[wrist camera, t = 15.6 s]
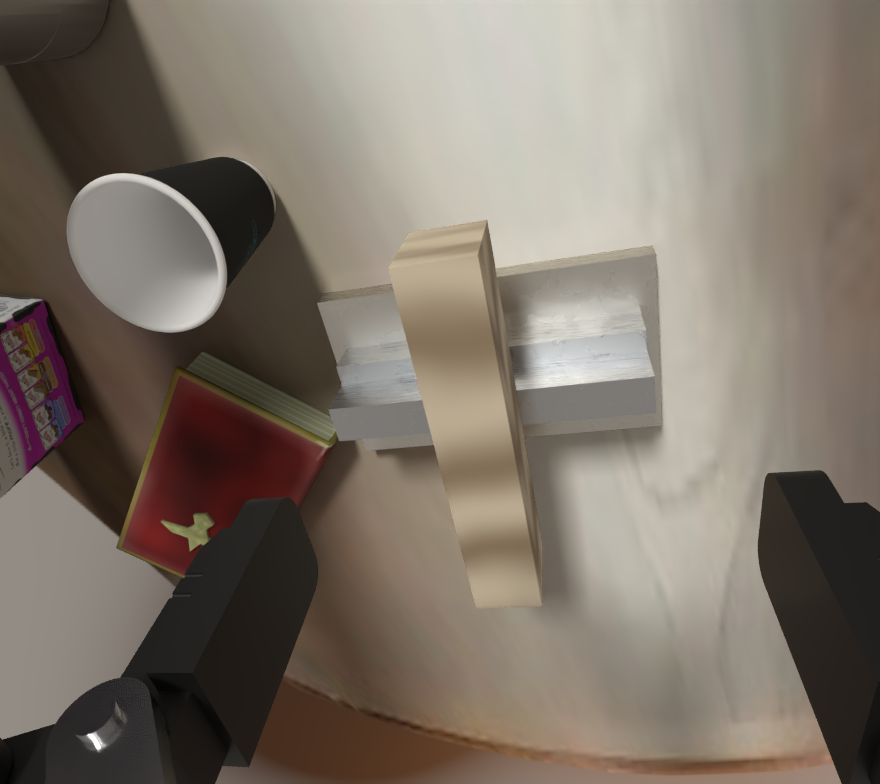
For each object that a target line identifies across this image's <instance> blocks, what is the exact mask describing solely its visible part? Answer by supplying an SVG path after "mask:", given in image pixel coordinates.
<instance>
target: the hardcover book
mask: <svg viewBox="0 0 880 784" xmlns="http://www.w3.org/2000/svg"><path fill="white" fill-rule="evenodd" d="M337 439H338V436H337V433H336V430H335V427H334V425H333V422H332V419H331V416H329V415H327V414H325V413H323V412H322V411H320V410H318V409H316V408H314V407H312V406H310V405H308V404H306V403H304V402H302V401H300V400H298V399H296V398H294V397H292V396H290V395H288V394H286V393H284V392H282V391H280V390H278V389H276V388H274V387H273V386H271V385H269V384H267V383H265V382H263V381H261V380H259V379H257V378H255V377H253V376H251V375H249V374H247V373H245V372H243V371H241V370H239V369H237V368H235V367H233V366H231V365H229V364H227V363H225V362H224V361H222V360H220V359H218V358H216V357H214V356H212V355H210V354H208V353H206V352H204V351H203V352H202V353H201V354H200V355H199V356H198V357H197V358H196V359H195V360H194V361H193V362H192V363H191V364H190V365H189V366H188V367H187V368H186V369H184V368H182V367H180V366H177V367H176V368H175V371H174V374H173V378H172V381H171V384H170V387H169V390H168V393H167V396H166V399H165V402H164V405H163V408H162V411H161V414H160V417H159V420H158V423H157V426H156V429H155V432H154V435H153V438H152V441H151V444H150V447H149V450H148V453H147V456H146V459H145V462H144V465H143V468H142V471H141V474H140V477H139V480H138V483H137V487H136V490H135V493H134V496H133V499H132V502H131V505H130V508H129V511H128V514H127V517H126V520H125V523H124V526H123V529H122V532H121V535H120V538H119V541H118V544H117V547H116V548H117V549H119V550H121V551H124V552H126V553H129V554H130V555H133V556H135V557H137V558H139V559H141V560H144V561H146V562H148V563H150V564H153V565H155V566H157V567H159V568H161V569H164V570H166V571H168V572H170V573H173V574H175V575H177V576H179V577H181V578H184V577H185V572H186V570H187V569H188V567H189V565H190V564H191V562H192V561H193V559H194V557H195V556H196V554H197V552H198V551H199V549H200V548H201V547H203V546H204V545H205V544H206V543H207V542H208V541H209V540H210V539H211V538H212V537H213V536H214V535H216V534H217V533H218V532H219V531H220V530H221V529H222V528H230V527H231V525H232V524H233V522H234V520H235V518H236V517H237V515H238V513H239V512H240V510H241V508H242V506H243V505H244V503H245V502H246V501H248V500H249V499H260V498H279V497H290V498H291V499H292V500H293V501H294V502H295V504H296V506H297V508H298V509H299V507H300V505H301V503H302V502H303V500H304V498H305V496H306V495H307V493H308V491H309V489H310V487H311V486H312V484H313V482H314V480H315V479H316V477H317V475H318V473H319V471H320V470H321V468H322V466H323V464H324V463H325V461H326V459H327V457H328V455H329V454H330V452H331V450H332V448H333V446H334V445H335V443H336V441H337Z"/></svg>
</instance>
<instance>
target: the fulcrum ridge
mask: <svg viewBox="0 0 880 784" xmlns="http://www.w3.org/2000/svg"><path fill="white" fill-rule="evenodd" d="M496 275H497V281H498V286H499V292H500V298H501V304H502V310H503V316H504V322H505V327H506V333H507V339H508V345H509V351H510V357H511V363H512V368H513V374H514V380H515V386H516V392H517V398H518V404H519V409H520V415H521V421H522V427H523V433H524V437H535V436H547V435H559V434H571V433H583V432H594V431H606V430H618V429H630V428H642V427H654V426H662V402H661V374H660V346H659V318H658V291H657V263H656V252H655V250H654V248H653V245H652V246H645V247H639V248H632V249H625V250H618V251H611V252H605V253H598V254H591V255H584V256H578V257H571V258H564V259H557V260H550V261H544V262H537V263H530V264H523V265H516V266H510V267H503V268H496ZM317 304H318V307H319V310H320V314H321V317H322V320H323V323H324V326H325V329H326V332H327V335H328V338H329V341H330V344H331V347H332V350H333V353H334V356H335V359H336V362H337V366H336V368H337V372H338V375H339V378H340V381H341V384H342V385H341V387H340V388H339V390H338V392H337V394H336V396H335V398H334V400H333V402H332V403H331V405H330V407H329V409H328V410H329V413H330V416H331V419H332V422H333V425H334V427H335V430H336V433H337V436H338V439H339V441H350V440H361V439H362V441H363V444H364V447H365V450H366V451H370V450H381V449H393V448H405V447H417V446H429V445H434V444H433V440H432V436H431V432H430V428H429V424H428V421H427V417H426V413H425V409H424V405H423V401H422V398H421V394H420V390H419V386H418V382H417V378H416V375H415V371H414V367H413V363H412V359H411V355H410V352H409V348H408V344H407V340H406V336H405V332H404V329H403V325H402V321H401V317H400V313H399V309H398V305H397V302H396V298H395V294H394V290H393V286H392V284H387V285H381V286H374V287H367V288H360V289H353V290H347V291H340V292H333V293H326V294H323V296H322V297H321V298H320V300H319V301H318V302H317Z"/></svg>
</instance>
